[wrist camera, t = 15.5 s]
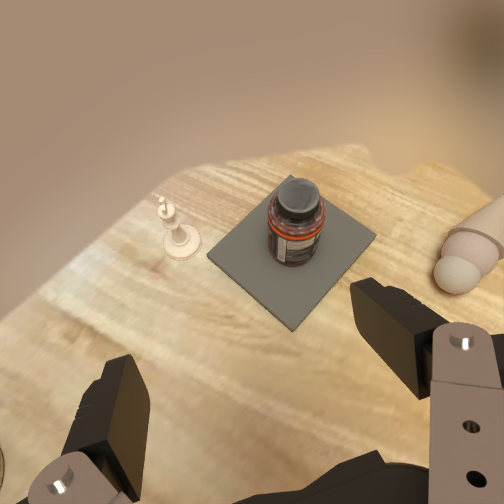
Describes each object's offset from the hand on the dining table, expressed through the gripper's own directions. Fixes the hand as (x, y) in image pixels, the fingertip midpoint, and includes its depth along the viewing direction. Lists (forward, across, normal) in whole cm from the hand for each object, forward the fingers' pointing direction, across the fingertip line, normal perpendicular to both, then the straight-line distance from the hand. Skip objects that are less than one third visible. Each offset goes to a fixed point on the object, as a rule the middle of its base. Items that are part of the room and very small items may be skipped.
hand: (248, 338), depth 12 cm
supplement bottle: (+29, -9, +9) cm, 31 cm away
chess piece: (+34, +4, +6) cm, 34 cm away
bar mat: (+30, -9, +9) cm, 32 cm away
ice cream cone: (+25, -29, +14) cm, 41 cm away
